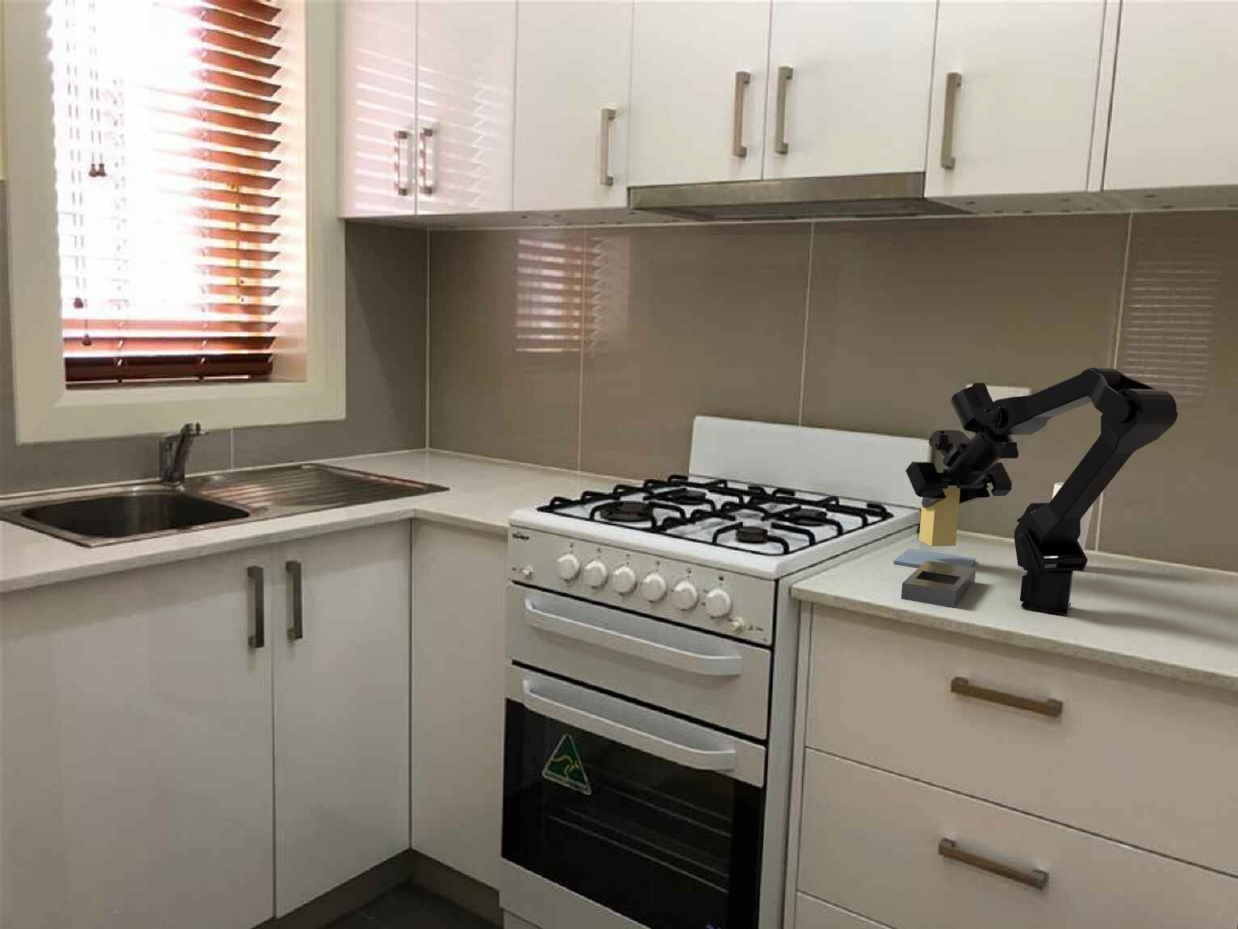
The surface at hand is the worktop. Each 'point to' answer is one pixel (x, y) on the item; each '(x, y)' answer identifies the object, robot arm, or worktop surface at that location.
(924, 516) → the mustard block
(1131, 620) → the worktop surface
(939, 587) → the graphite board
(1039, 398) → the robot arm
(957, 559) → the slate mat
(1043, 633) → the worktop surface
